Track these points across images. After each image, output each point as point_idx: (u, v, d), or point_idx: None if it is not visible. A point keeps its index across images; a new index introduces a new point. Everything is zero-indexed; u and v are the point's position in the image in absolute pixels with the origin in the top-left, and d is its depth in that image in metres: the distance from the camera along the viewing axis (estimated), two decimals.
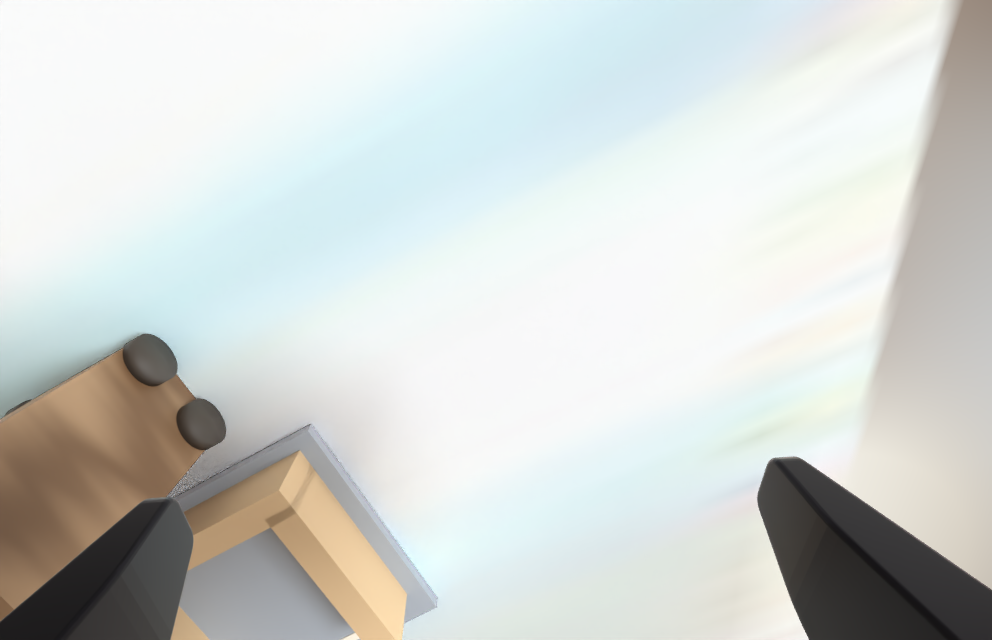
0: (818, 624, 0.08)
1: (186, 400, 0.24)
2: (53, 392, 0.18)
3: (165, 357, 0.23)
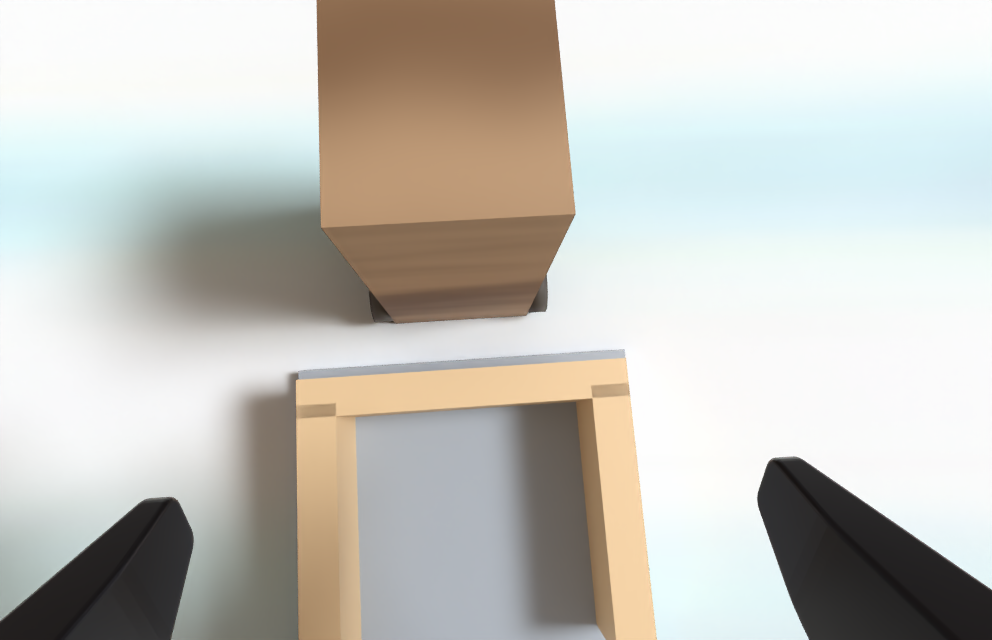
0: (818, 624, 0.08)
1: None
2: None
3: None
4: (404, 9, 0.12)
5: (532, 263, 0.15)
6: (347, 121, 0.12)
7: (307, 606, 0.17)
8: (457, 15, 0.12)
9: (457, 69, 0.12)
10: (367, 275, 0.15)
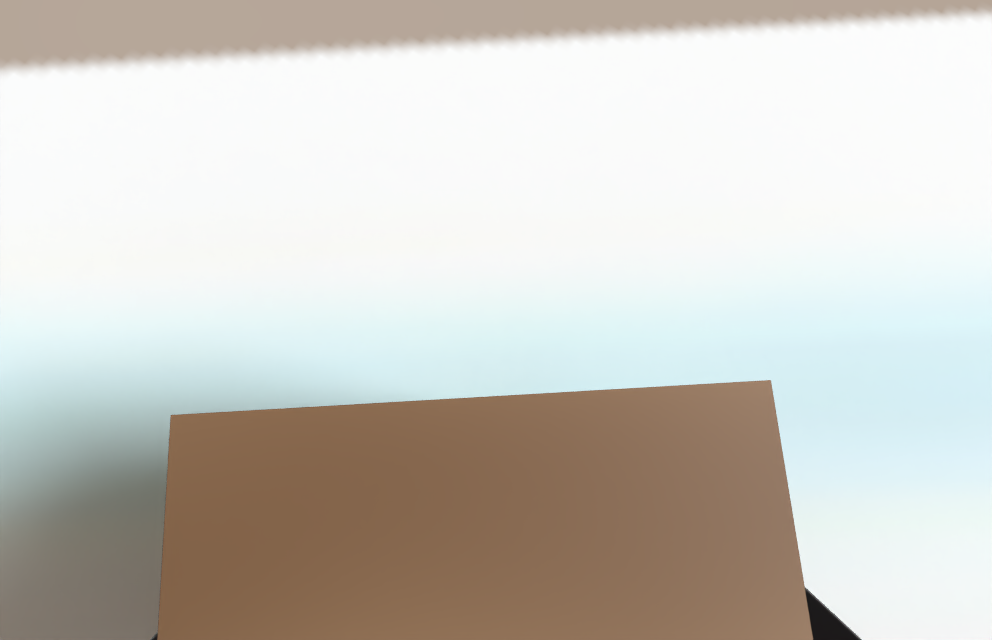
0: None
1: None
2: None
3: None
4: (395, 440, 0.05)
5: None
6: None
7: None
8: (532, 454, 0.05)
9: (534, 620, 0.04)
10: None
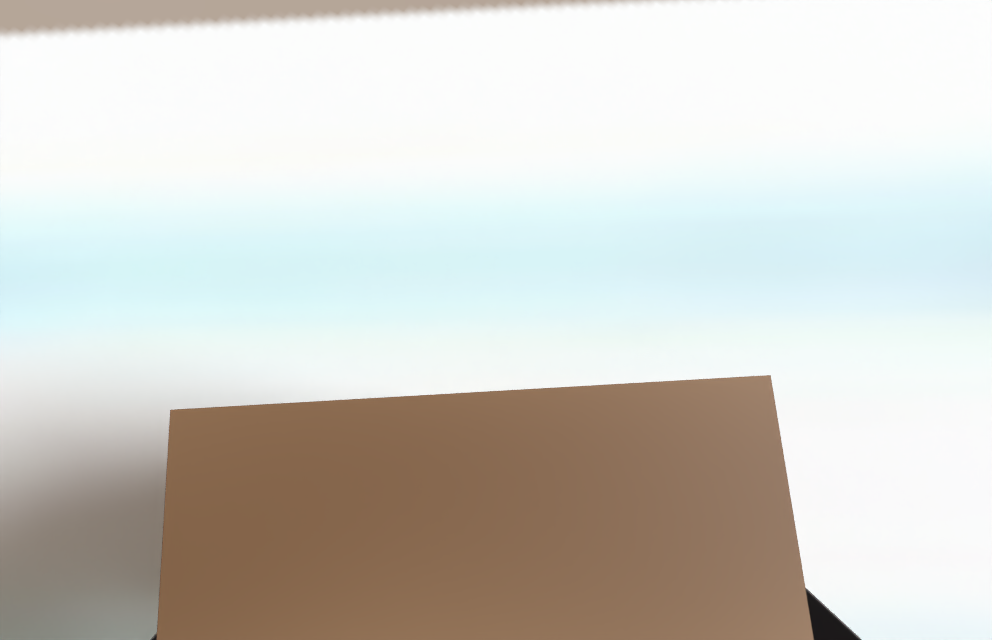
0: None
1: None
2: None
3: None
4: (394, 433, 0.05)
5: None
6: None
7: None
8: (532, 449, 0.05)
9: (534, 615, 0.04)
10: None
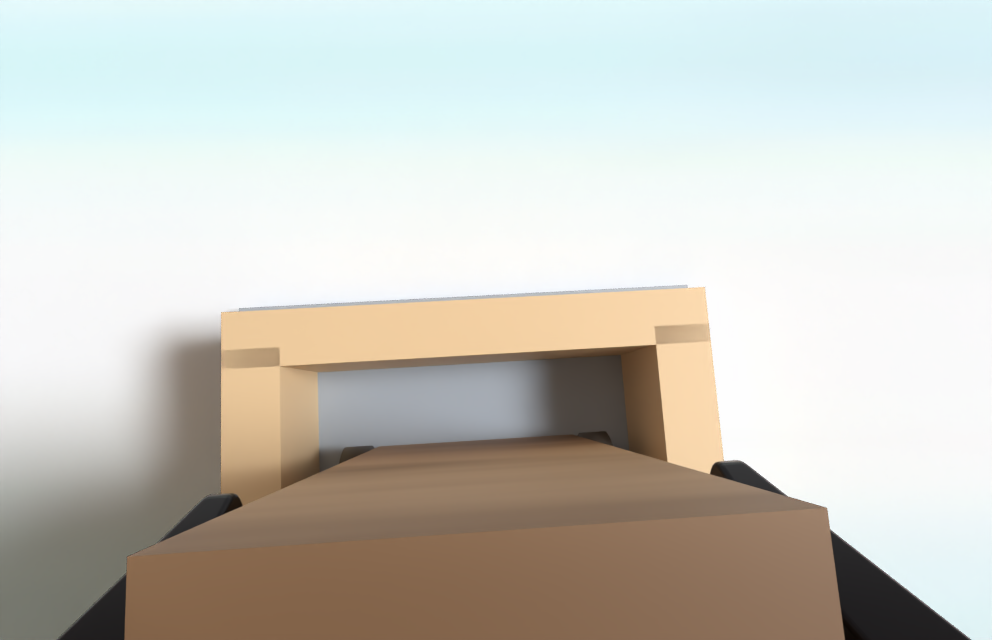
0: None
1: None
2: (628, 453, 0.10)
3: None
4: (390, 584, 0.04)
5: None
6: None
7: None
8: (549, 599, 0.04)
9: None
10: None
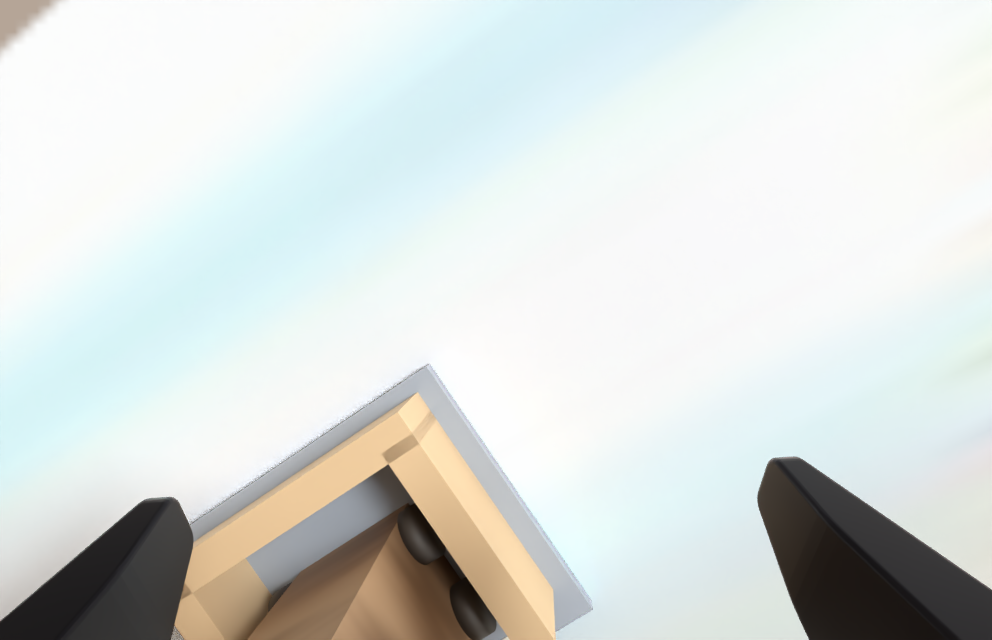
0: (818, 624, 0.08)
1: (452, 578, 0.21)
2: (362, 585, 0.16)
3: None
4: None
5: None
6: None
7: None
8: None
9: None
10: None
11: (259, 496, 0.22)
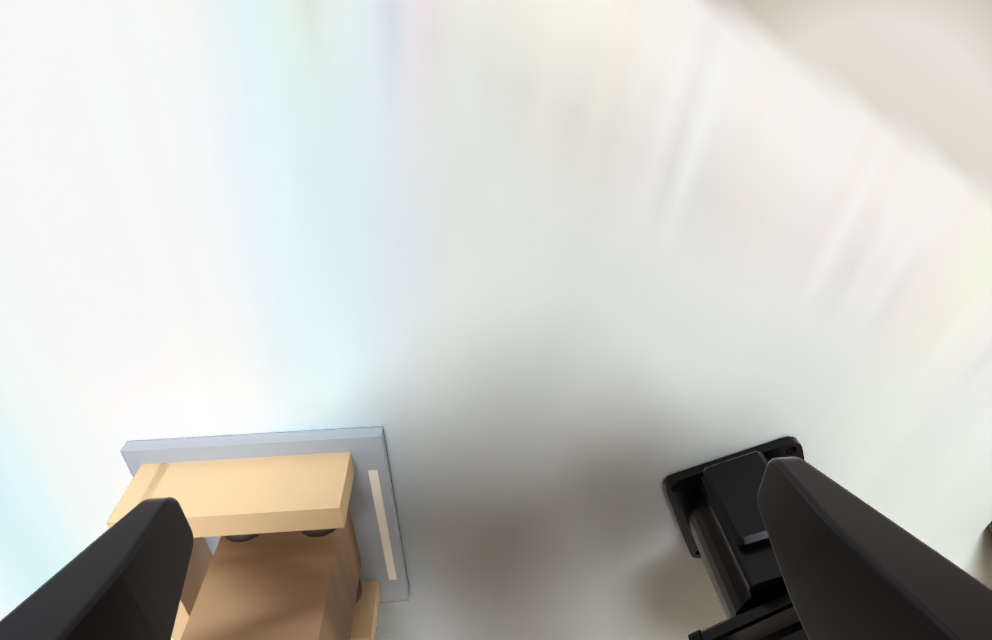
0: (818, 624, 0.08)
1: None
2: (188, 622, 0.21)
3: None
4: None
5: None
6: None
7: None
8: None
9: None
10: None
11: None
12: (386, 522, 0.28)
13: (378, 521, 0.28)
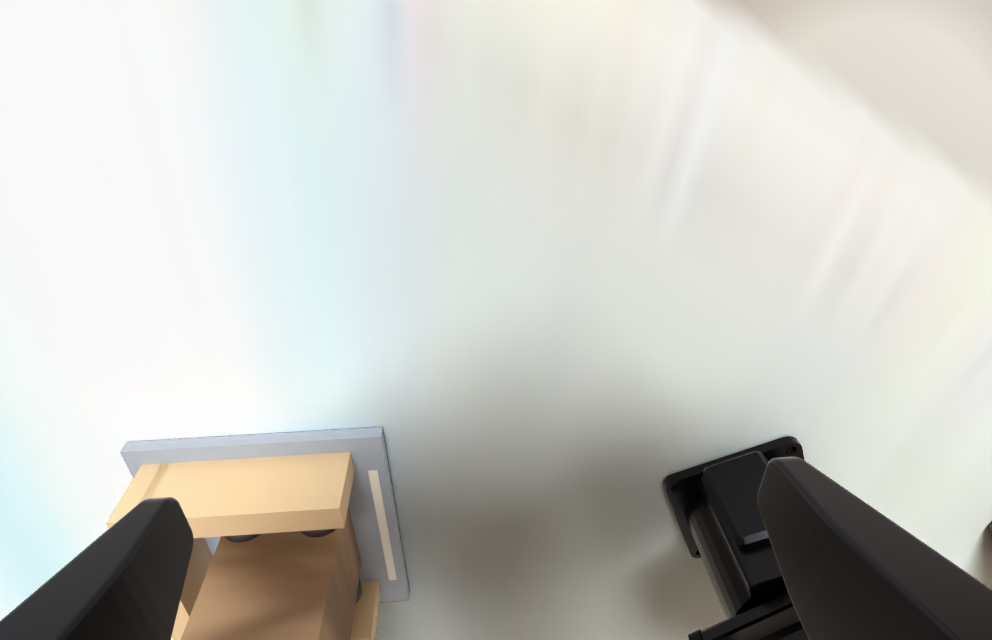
0: (818, 624, 0.08)
1: None
2: (188, 622, 0.21)
3: None
4: None
5: None
6: None
7: None
8: None
9: None
10: None
11: None
12: (386, 522, 0.28)
13: (377, 522, 0.28)
